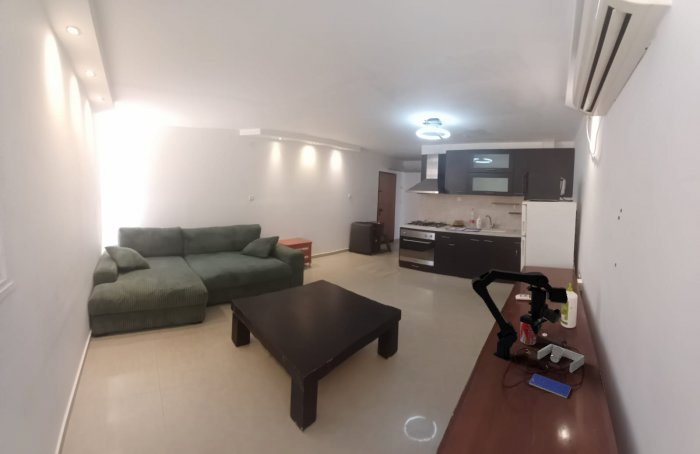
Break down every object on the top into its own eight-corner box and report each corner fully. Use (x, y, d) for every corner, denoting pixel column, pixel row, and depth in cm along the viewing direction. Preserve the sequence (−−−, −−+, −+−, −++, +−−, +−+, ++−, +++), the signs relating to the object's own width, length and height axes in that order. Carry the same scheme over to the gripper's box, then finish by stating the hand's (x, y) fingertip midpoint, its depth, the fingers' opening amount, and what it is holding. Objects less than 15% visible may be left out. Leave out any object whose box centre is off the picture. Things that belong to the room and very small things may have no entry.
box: (571, 372, 128) (572, 364, 128) (537, 358, 140) (537, 351, 139) (584, 363, 135) (584, 355, 135) (550, 350, 147) (551, 343, 146)
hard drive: (529, 381, 121) (566, 395, 112) (535, 372, 127) (571, 385, 118) (528, 385, 121) (566, 399, 112) (534, 376, 127) (571, 389, 118)
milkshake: (549, 364, 138) (554, 354, 145) (562, 363, 134) (566, 353, 141) (544, 354, 138) (549, 345, 146) (557, 353, 135) (561, 344, 142)
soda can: (521, 338, 160) (522, 316, 158) (536, 342, 155) (538, 319, 154) (518, 343, 154) (519, 320, 153) (534, 347, 150) (535, 324, 149)
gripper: (547, 310, 124) (545, 347, 126) (568, 302, 134) (566, 336, 136) (520, 302, 133) (518, 337, 135) (541, 295, 143) (539, 327, 145)
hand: (536, 334), depth 137 cm, fingers closed
